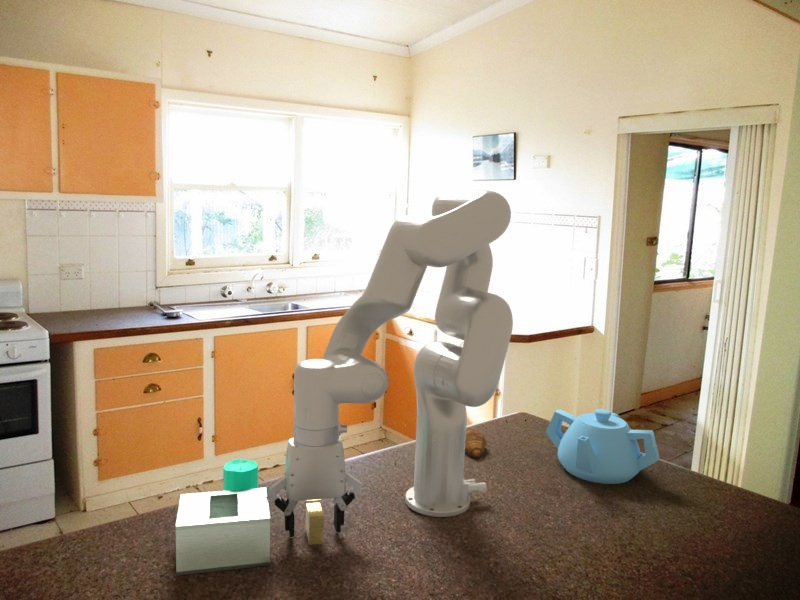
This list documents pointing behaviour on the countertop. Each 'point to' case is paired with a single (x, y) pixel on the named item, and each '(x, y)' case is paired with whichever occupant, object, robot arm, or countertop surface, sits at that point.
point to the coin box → (222, 531)
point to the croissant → (474, 443)
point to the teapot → (601, 446)
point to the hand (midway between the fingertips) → (314, 530)
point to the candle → (240, 475)
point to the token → (314, 523)
